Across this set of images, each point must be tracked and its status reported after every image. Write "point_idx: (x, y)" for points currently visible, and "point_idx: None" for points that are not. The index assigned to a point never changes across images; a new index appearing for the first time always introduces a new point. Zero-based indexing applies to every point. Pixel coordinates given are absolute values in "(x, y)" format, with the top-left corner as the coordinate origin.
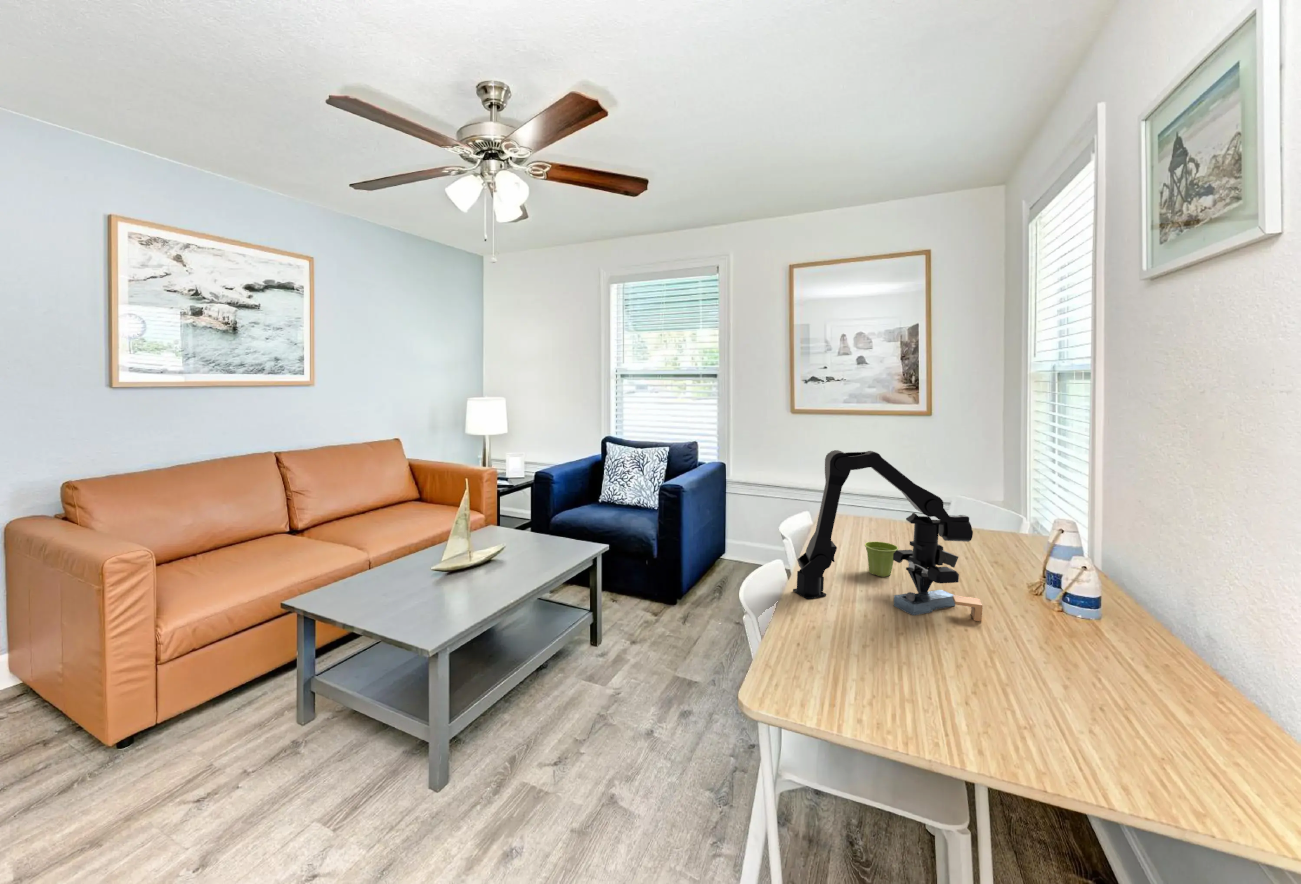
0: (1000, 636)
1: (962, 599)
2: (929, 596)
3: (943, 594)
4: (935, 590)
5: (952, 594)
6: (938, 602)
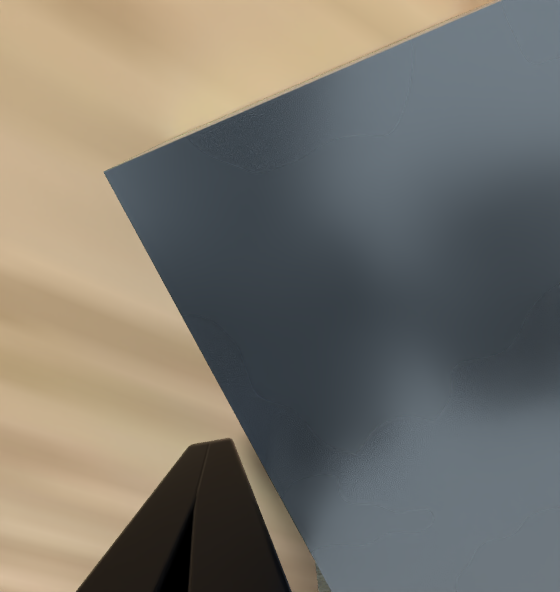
0: None
1: None
2: (518, 569)
3: (464, 292)
4: (207, 354)
5: (492, 25)
6: None
